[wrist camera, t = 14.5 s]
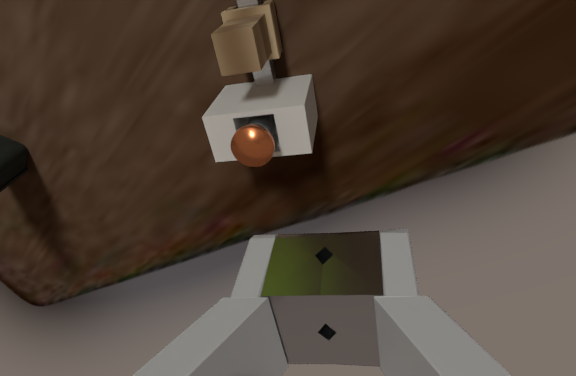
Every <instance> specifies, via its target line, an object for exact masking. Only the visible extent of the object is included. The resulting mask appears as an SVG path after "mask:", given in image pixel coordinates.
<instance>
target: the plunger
mask: <svg viewBox="0 0 576 376" xmlns="http://www.w3.org/2000/svg"><path fill="white" fill-rule="evenodd" d="M275 128H276V124H275V119H274V114H268V115H259V116H251V117H250V119H249V121H248V123H247V125H244V126H242V127H240V128H239V129H238V130H237V131H236V132H235V134H234V136H233V137H232V140H231V151H232V154H233V155H234V157H235V158H236V159H237V160H238V161H239V162H240V163H242V164H244V165H246V166H250V167H259V166H263V165H265V164H266V163H268V162H269V161H270V159H271V158H272V156H273V152H274V149H275V142H274V139H273V137H272V136H273V133H274V131H275Z"/></svg>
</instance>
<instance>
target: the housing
mask: <svg viewBox="0 0 576 376" xmlns="http://www.w3.org/2000/svg"><path fill="white" fill-rule="evenodd" d="M268 114H274V119H275V124H276V128H275V131H274V133H273V136H272V137H273V139H274V142H275V149H274V152H273V156H272V157H277V156H287V155H298V154H309V153H312V150H313V144H314V138H315V132H316V125H317V119H318V113H317V106H316V99H315V92H314V85H313V78H312V74H309V75H301V76H294V77H286V78H279V79H276V81H275V83H274V85H268V86H261V87H256V85H255V82H248V83H241V84H233V85H226V86H225V87H224V89H223V90H222V91H221V92H220V94H219V95H218V96H217V98H216V99H215V100H214V102H213V103H212V104H211V106H210V107H209V108H208V110H207V111H206V112H205V114H204V115H203V116H202V119H203V122H204V125H205V129H206V132H207V135H208V138H209V142H210V145H211V148H212V152H213V155H214V158H215V161H216V162H223V161H234V160H237V159H236V158H235V157H234V155H233V154H232V151H231V140H232V137H233V136H234V134H235V132H236V131H237V130H238V129H239V128H240V127H242V126H244V125H247V123H248V121H249V119H250V117H251V116H259V115H268Z"/></svg>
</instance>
